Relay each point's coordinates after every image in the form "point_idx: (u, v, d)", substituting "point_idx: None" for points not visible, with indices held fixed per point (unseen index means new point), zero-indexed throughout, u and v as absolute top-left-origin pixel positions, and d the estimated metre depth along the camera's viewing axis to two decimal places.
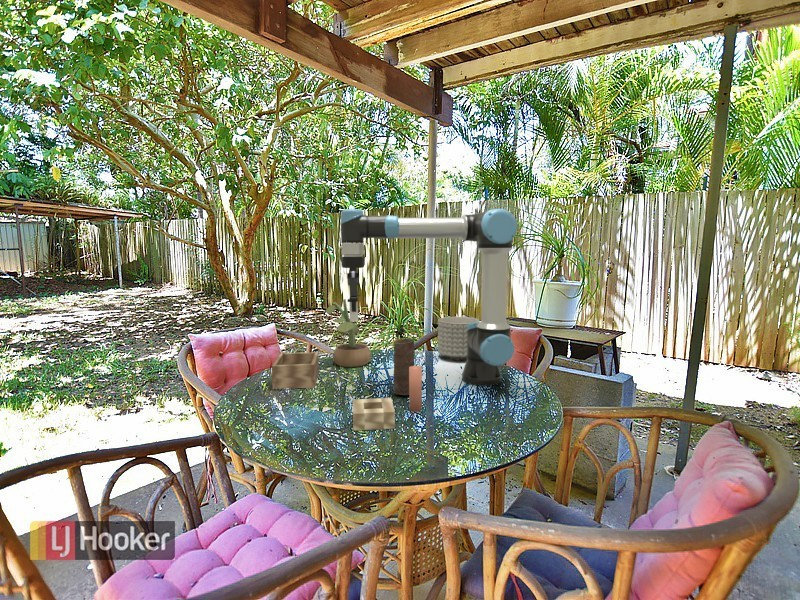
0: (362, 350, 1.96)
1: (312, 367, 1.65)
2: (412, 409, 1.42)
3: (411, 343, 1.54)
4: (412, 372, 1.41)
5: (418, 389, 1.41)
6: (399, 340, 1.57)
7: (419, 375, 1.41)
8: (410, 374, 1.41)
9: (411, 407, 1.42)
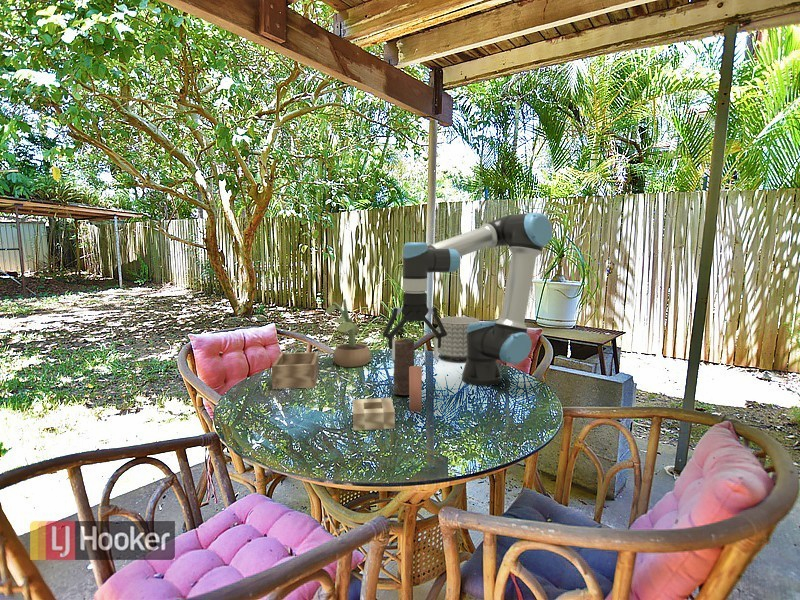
0: (362, 350, 1.96)
1: (312, 367, 1.65)
2: (412, 409, 1.42)
3: (411, 343, 1.54)
4: (412, 372, 1.41)
5: (418, 389, 1.41)
6: (399, 340, 1.57)
7: (419, 375, 1.41)
8: (410, 374, 1.41)
9: (411, 407, 1.42)
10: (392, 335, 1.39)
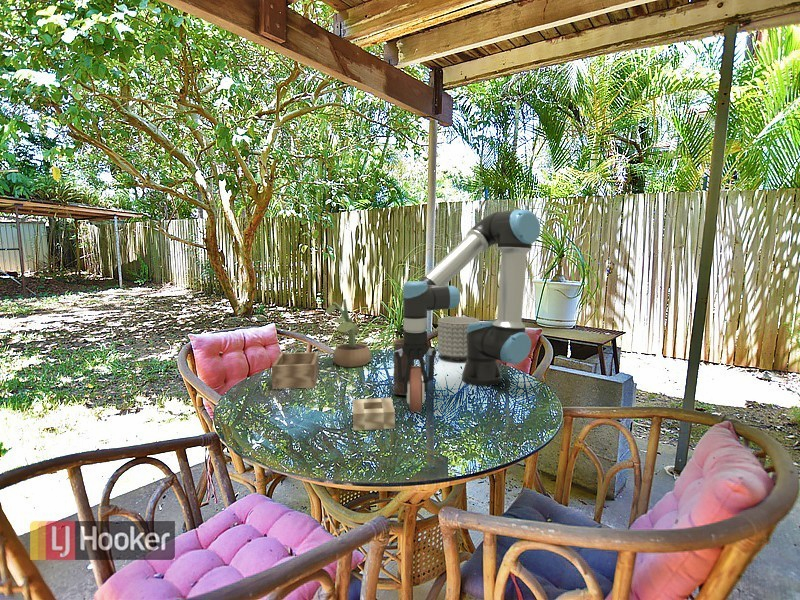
0: (362, 350, 1.96)
1: (312, 367, 1.65)
2: (412, 409, 1.42)
3: None
4: (412, 372, 1.41)
5: (418, 389, 1.41)
6: (399, 340, 1.57)
7: (419, 375, 1.41)
8: (410, 374, 1.41)
9: (411, 407, 1.42)
10: (406, 379, 1.41)
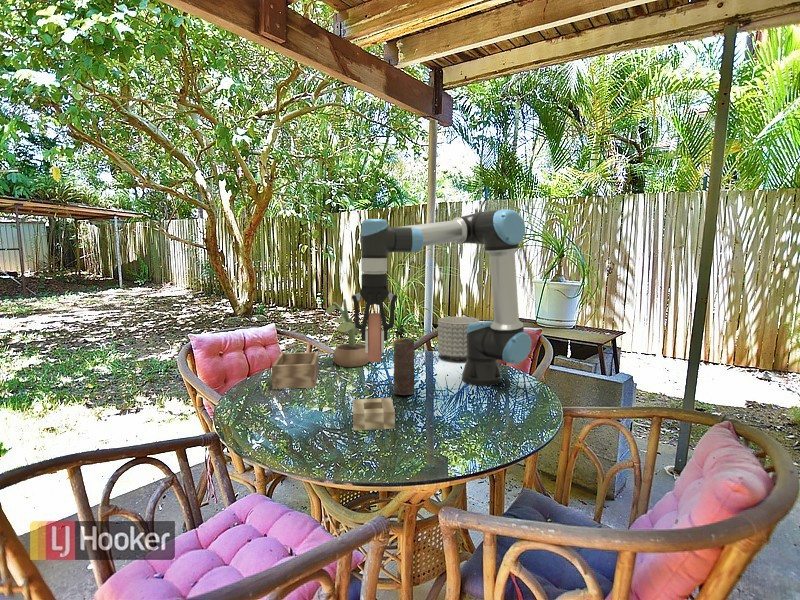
0: (362, 350, 1.96)
1: (312, 367, 1.65)
2: (370, 359, 1.31)
3: (411, 343, 1.54)
4: (370, 318, 1.30)
5: (377, 337, 1.30)
6: (399, 340, 1.57)
7: (378, 322, 1.30)
8: (368, 321, 1.30)
9: (369, 357, 1.31)
10: (364, 325, 1.30)
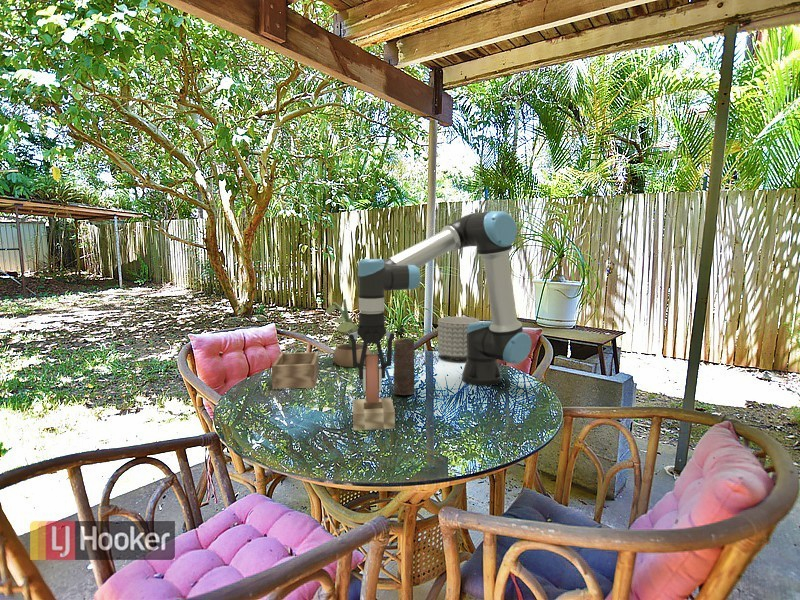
0: None
1: (312, 367, 1.65)
2: (368, 400, 1.32)
3: (411, 343, 1.54)
4: (368, 360, 1.30)
5: (375, 378, 1.31)
6: (399, 340, 1.57)
7: (375, 363, 1.31)
8: (366, 362, 1.31)
9: (367, 398, 1.32)
10: (361, 364, 1.31)
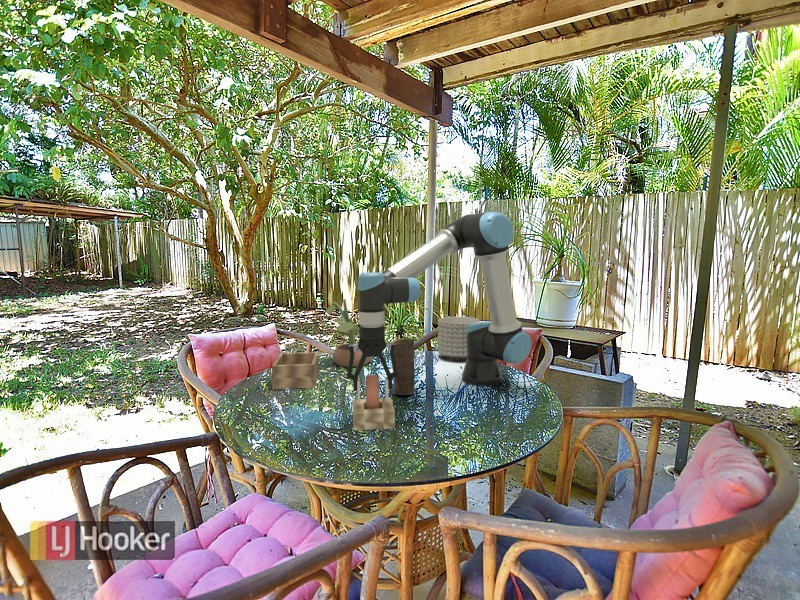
0: None
1: (312, 367, 1.65)
2: None
3: (411, 343, 1.54)
4: (368, 382, 1.31)
5: (375, 400, 1.32)
6: (399, 340, 1.57)
7: (376, 385, 1.32)
8: (366, 384, 1.32)
9: None
10: (356, 376, 1.31)
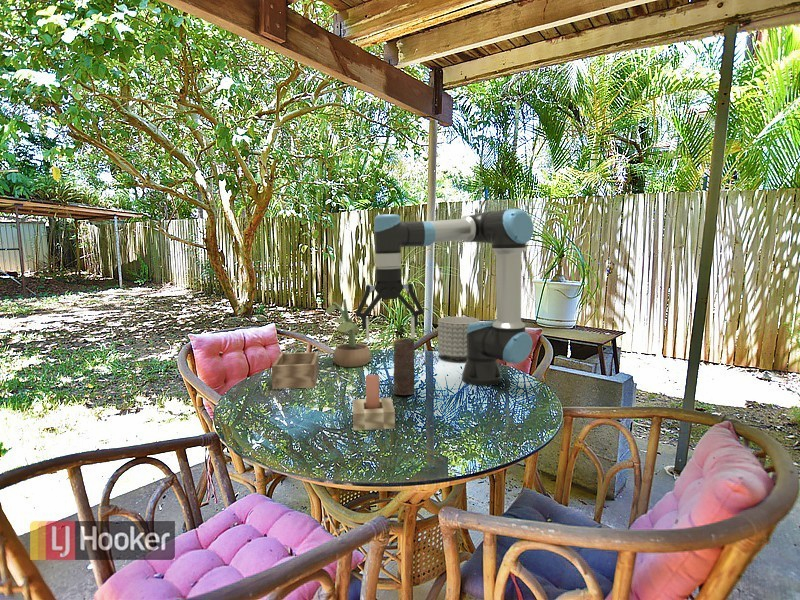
0: (362, 350, 1.96)
1: (312, 367, 1.65)
2: None
3: (411, 343, 1.54)
4: (368, 381, 1.31)
5: (376, 400, 1.32)
6: (399, 340, 1.57)
7: (376, 385, 1.32)
8: (366, 383, 1.32)
9: None
10: (365, 314, 1.31)
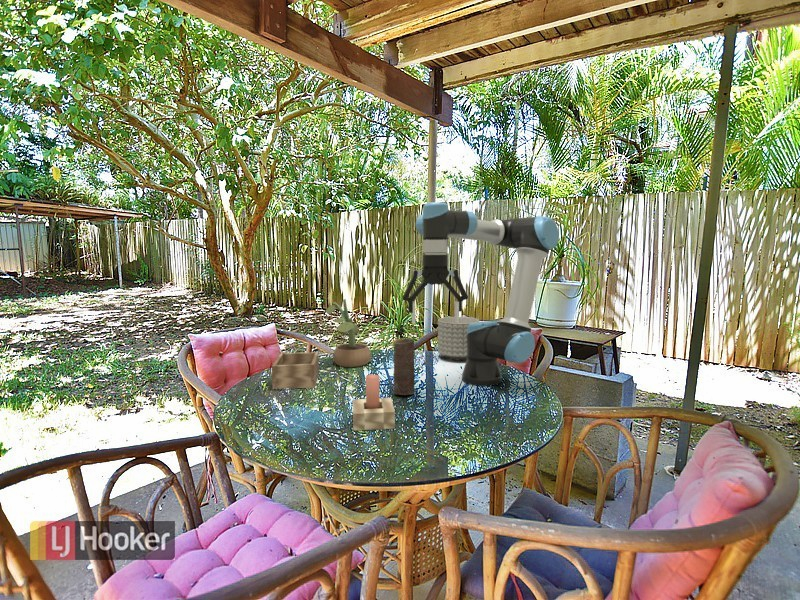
0: (362, 350, 1.96)
1: (312, 367, 1.65)
2: None
3: (411, 343, 1.54)
4: (368, 381, 1.31)
5: (376, 400, 1.32)
6: (399, 340, 1.57)
7: (376, 385, 1.32)
8: (367, 384, 1.32)
9: None
10: (412, 298, 1.36)
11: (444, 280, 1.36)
